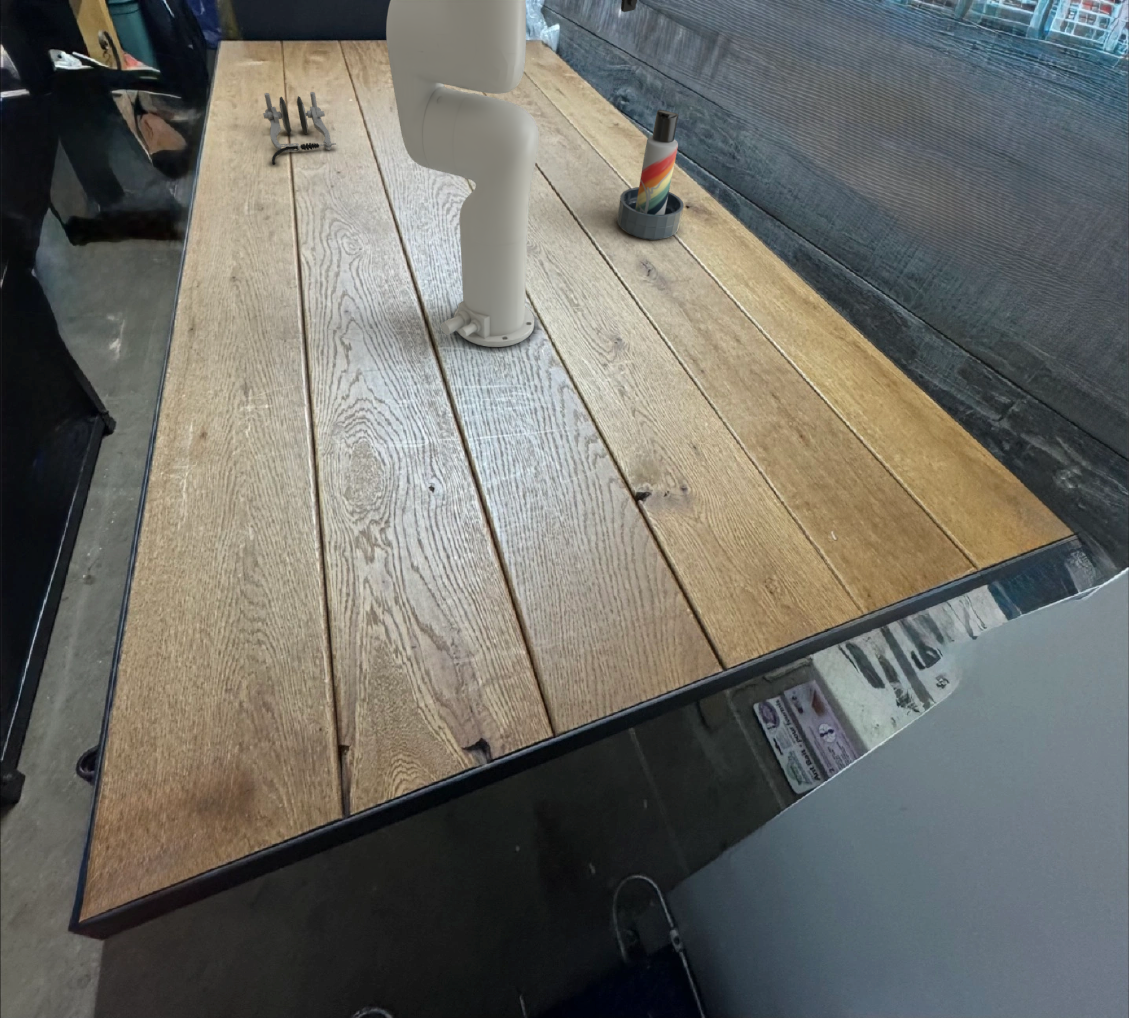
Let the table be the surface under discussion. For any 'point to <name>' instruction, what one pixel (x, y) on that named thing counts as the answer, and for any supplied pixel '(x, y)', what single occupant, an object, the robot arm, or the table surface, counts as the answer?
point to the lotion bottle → (658, 165)
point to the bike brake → (275, 127)
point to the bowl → (649, 217)
